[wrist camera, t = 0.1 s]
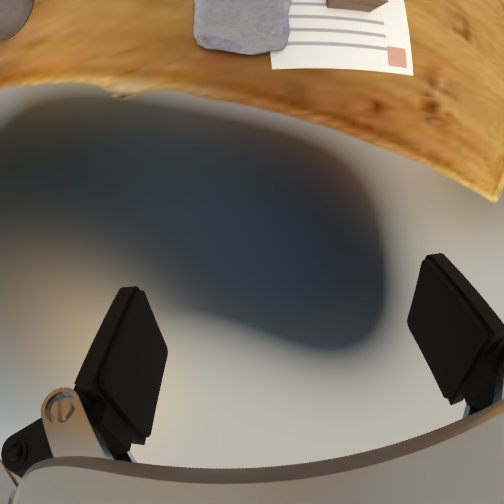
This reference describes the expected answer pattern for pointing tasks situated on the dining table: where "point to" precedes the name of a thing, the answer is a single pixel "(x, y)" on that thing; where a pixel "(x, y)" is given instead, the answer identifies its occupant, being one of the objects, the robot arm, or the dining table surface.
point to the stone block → (242, 25)
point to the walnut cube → (356, 4)
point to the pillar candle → (13, 16)
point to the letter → (346, 38)
